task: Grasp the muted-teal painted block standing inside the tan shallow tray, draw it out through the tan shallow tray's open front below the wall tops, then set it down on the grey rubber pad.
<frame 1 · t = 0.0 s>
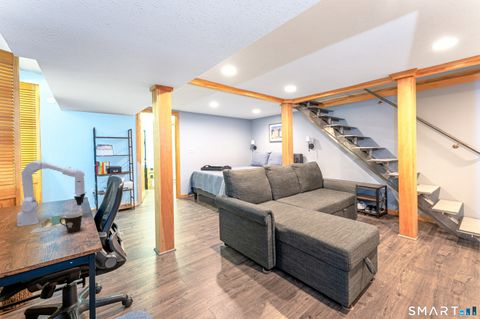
hand: (80, 204, 157), 10 cm above the table, fingers open, 7 cm apart
tan shallow tray: (56, 224, 142), on the table
pad: (41, 230, 131), on the table
coffee mug: (72, 231, 130), on the table
block: (56, 223, 142), resting on tan shallow tray
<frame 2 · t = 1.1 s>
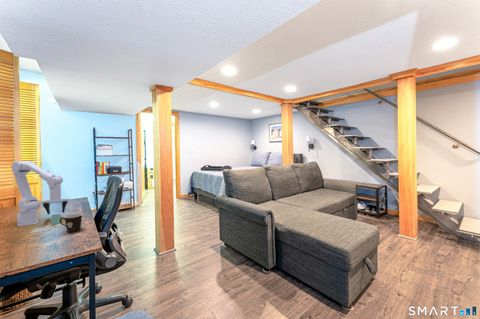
hand: (56, 213, 142), 8 cm above the table, fingers open, 7 cm apart
nothing on the table moved.
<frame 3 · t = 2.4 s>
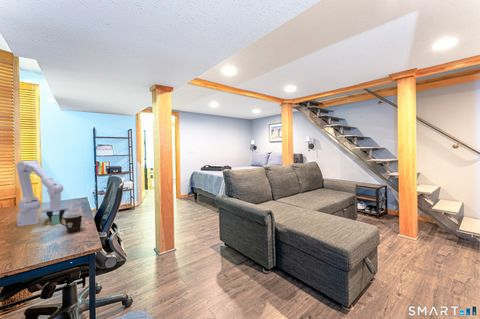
hand: (56, 221, 142), 2 cm above the table, fingers closed on block, 4 cm apart
block: (56, 223, 142), resting on tan shallow tray, touching gripper
everything else where it was.
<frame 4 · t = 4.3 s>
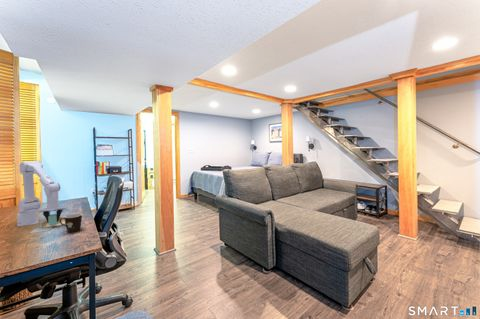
hand: (53, 221, 136), 4 cm above the table, fingers closed on block, 4 cm apart
block: (53, 223, 136), point 2 cm above the table, touching gripper
everything else where it was.
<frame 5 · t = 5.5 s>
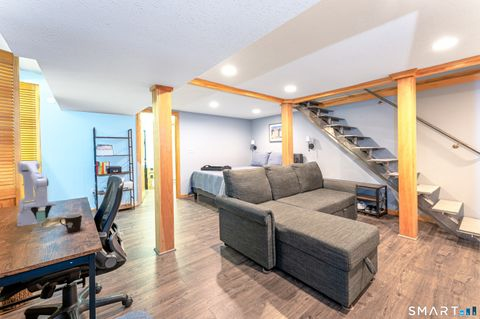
hand: (41, 218, 131), 8 cm above the table, fingers closed on block, 4 cm apart
block: (42, 220, 131), point 6 cm above the table, touching gripper
everything else where it was.
when the fingers open (3 cm above the table, at t = 6.6 s): block drops 1 cm, resting on pad.
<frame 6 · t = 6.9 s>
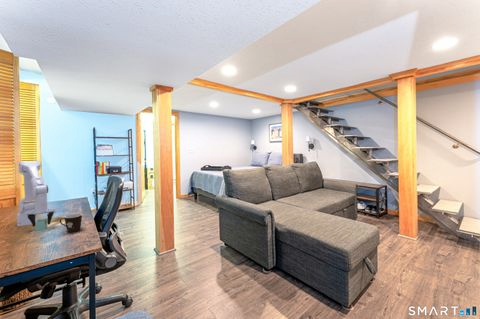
hand: (41, 225, 131), 4 cm above the table, fingers open, 6 cm apart
block: (41, 229, 131), point 1 cm above the table, touching pad
everything else where it was.
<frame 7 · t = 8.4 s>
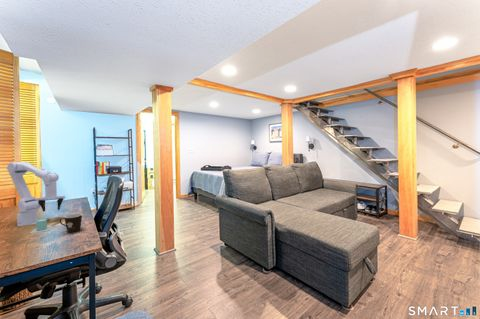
hand: (51, 210, 141), 10 cm above the table, fingers open, 7 cm apart
nothing on the table moved.
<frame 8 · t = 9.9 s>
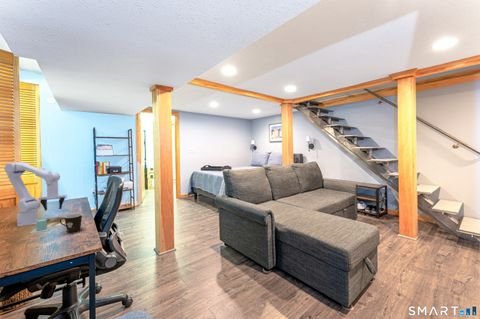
hand: (53, 209, 143), 10 cm above the table, fingers open, 7 cm apart
nothing on the table moved.
at the end: block inside the target area on the pad (0.0 cm from its centre), point 0.6 cm above the pad's base; block tilted 0°; the gripper is holding nothing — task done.
